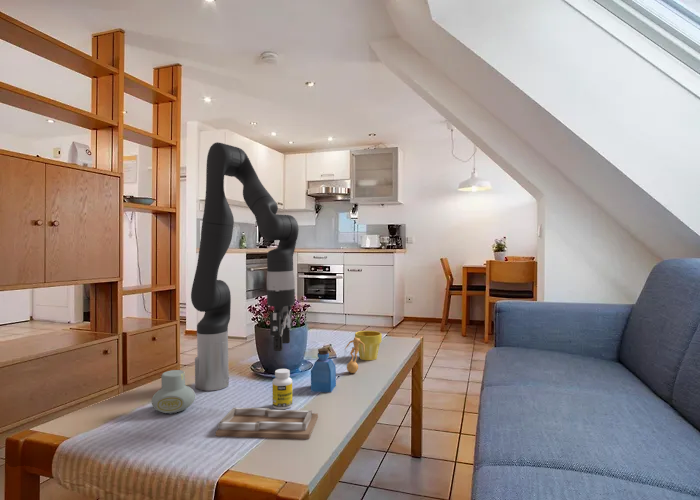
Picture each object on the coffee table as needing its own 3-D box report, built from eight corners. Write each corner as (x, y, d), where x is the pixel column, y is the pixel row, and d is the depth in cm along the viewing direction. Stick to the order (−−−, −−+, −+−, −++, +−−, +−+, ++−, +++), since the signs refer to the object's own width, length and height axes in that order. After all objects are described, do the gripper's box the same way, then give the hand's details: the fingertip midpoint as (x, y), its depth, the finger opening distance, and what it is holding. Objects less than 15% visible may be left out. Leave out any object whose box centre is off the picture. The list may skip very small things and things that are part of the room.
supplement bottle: (276, 411, 114) (275, 374, 114) (270, 404, 119) (269, 369, 118) (295, 407, 116) (294, 371, 116) (288, 401, 121) (288, 366, 121)
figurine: (339, 372, 148) (339, 337, 148) (349, 368, 153) (349, 334, 152) (359, 376, 143) (358, 340, 143) (369, 372, 148) (368, 337, 147)
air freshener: (197, 402, 121) (197, 367, 121) (192, 413, 113) (191, 376, 113) (156, 405, 119) (156, 369, 119) (148, 417, 111) (147, 378, 111)
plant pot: (386, 357, 167) (386, 331, 167) (373, 363, 158) (373, 337, 158) (363, 353, 172) (363, 329, 172) (350, 359, 164) (349, 334, 163)
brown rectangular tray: (215, 436, 100) (215, 425, 99) (234, 415, 111) (234, 405, 111) (309, 438, 97) (309, 427, 97) (318, 417, 109) (317, 407, 109)
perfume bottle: (331, 392, 128) (330, 352, 128) (311, 391, 129) (310, 351, 129) (335, 385, 134) (335, 347, 134) (316, 384, 135) (316, 346, 135)
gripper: (274, 285, 124) (275, 341, 125) (259, 290, 110) (261, 353, 110) (299, 285, 124) (301, 341, 124) (288, 290, 110) (289, 353, 110)
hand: (282, 346), depth 117 cm, fingers open, 8 cm apart
